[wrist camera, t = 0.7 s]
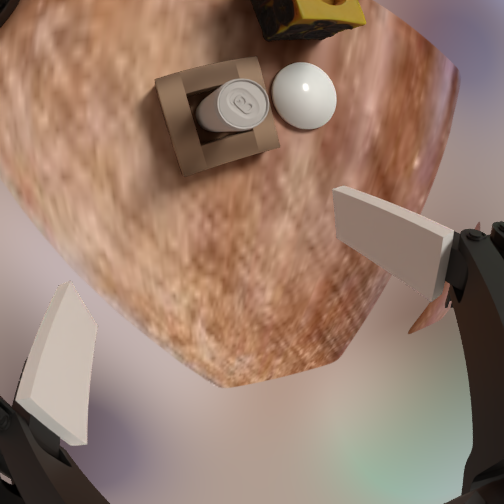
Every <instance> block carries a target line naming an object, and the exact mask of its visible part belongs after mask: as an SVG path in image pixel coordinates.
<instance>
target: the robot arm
mask: <svg viewBox="0 0 504 504" xmlns="http://www.w3.org/2000/svg"><path fill="white" fill-rule="evenodd" d="M19 1H20V0H0V27H1V26H2V25H3V24H4V22H5V21H6V20H7V19H8V17H9V16H10V15H11V13H12V12H13V10H14V9H15V7H16V6H17V4H18V3H19ZM332 192H333V202H334V212H335V224H336V238H337V239H339V240H340V241H342V242H343V243H345V244H347V245H348V246H350V247H351V248H353V249H354V250H356V251H357V252H359V253H360V254H362V255H364V256H365V257H367V258H368V259H370V260H371V261H373V262H374V263H376V264H377V265H379V266H380V267H382V268H383V269H385V270H386V271H387V272H389V273H390V274H392V275H393V276H395V277H396V278H398V279H399V280H401V281H402V282H403V283H405V284H406V285H408V286H409V287H411V288H412V289H413V290H415V291H416V292H418V293H419V294H420V295H422V296H423V297H425V298H426V299H427V300H429V301H430V302H432V301H433V300H435V299H436V298H437V297H438V296H440V295H441V294H442V291H443V287H444V283H445V281H447V282H448V283H450V287H449V291H448V295H447V299H446V302H445V308H447V307H448V304H449V301H452V304H451V308H452V307H453V308H454V311H455V315H456V319H457V323H458V327H459V331H460V335H461V340H462V345H463V349H464V355H465V360H466V366H467V372H468V379H469V387H470V396H471V406H472V422H473V448H472V451H471V454H470V456H469V458H468V459H467V462H466V465H465V469H464V477H463V486H462V495H461V496H459V497H457V498H455V499H453V500H451V501H449V502H447V503H444V504H504V222H502V221H501V222H495V223H493V225H492V230H491V234H490V235H486V234H485V233H483V232H481V231H478V230H475V229H465V230H463V231H461V233H460V234H459V233H457V232H455V231H453V230H452V229H450V228H448V227H445V226H443V225H441V224H439V223H437V222H434V221H432V220H430V219H428V218H426V217H424V216H421V215H419V214H417V213H414V212H412V211H410V210H407V209H405V208H402V207H400V206H397V205H395V204H392V203H390V202H387V201H385V200H382V199H380V198H377V197H374V196H372V195H369V194H366V193H364V192H361V191H358V190H355V189H352V188H350V187H347V186H341V187H338V188H334V189H332ZM97 329H98V325H97V323H96V322H95V320H94V319H93V317H92V315H91V314H90V313H89V311H88V309H87V307H86V306H85V304H84V303H83V301H82V299H81V298H80V296H79V294H78V292H77V291H76V289H75V287H74V285H73V284H72V282H71V281H68V282H66V283H63V284H61V285H59V286H58V288H57V290H56V292H55V294H54V296H53V298H52V300H51V302H50V304H49V307H48V309H47V311H46V314H45V316H44V318H43V320H42V322H41V325H40V327H39V330H38V332H37V335H36V338H35V340H34V343H33V345H32V348H31V351H30V354H29V356H28V358H27V359H26V361H25V364H24V367H23V370H22V372H23V373H21V376H20V381H19V383H18V386H17V390H16V393H15V397H14V401H13V405H12V407H11V406H10V405H9V404H8V403H7V402H6V401H5V400H4V399H3V398H2V397H1V396H0V473H2V474H3V475H5V476H7V477H8V478H10V479H11V481H12V485H11V484H9V483H7V482H5V481H4V480H2V479H1V477H0V504H110V503H109V502H108V501H107V500H106V499H105V498H104V497H103V496H102V495H101V493H100V492H99V491H98V490H97V489H96V488H95V487H94V486H93V484H92V483H91V482H90V481H89V480H88V478H87V477H86V476H85V475H84V474H83V472H82V471H81V470H80V469H79V467H78V466H77V465H76V463H75V462H74V461H73V459H72V458H71V457H70V455H69V454H68V453H67V451H66V450H65V449H64V448H62V447H61V446H60V438H61V439H62V440H64V441H65V442H67V443H68V444H69V445H71V446H75V445H85V444H87V419H88V402H89V401H88V400H89V389H90V379H91V370H92V362H93V354H94V348H95V342H96V335H97Z"/></svg>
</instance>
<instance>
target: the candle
mask: <svg viewBox="0 0 504 504" xmlns="http://www.w3.org/2000/svg"><path fill="white" fill-rule="evenodd" d="M251 2H252V4H253V7H254V11H255V13H256V14H257V18H258V21H259V23H260V26H261V28H262V31H263V37H264V38H265V40H266V41H271V40H296V39H307V40H309V39H319V40H323V39H325V38H327V37H331V36H334V34H336V33H338V32H341V31H344V30H345V29H353V28H356V27H359V26H363V25H365V24H366V20H365V17H364V14H363V12H362V9H361V7H360V4H359V2H358V0H251Z"/></svg>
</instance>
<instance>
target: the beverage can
mask: <svg viewBox="0 0 504 504" xmlns="http://www.w3.org/2000/svg"><path fill="white" fill-rule="evenodd" d="M268 111H269V99H268V95H267V93H266V91H265V90H264V89H263V88H262V86H261V85H259V84H258V83H256V82H255V81H252V80H250V79H234V80H231V81H228V82H226V83H225V84H223V85H222V86H221V87H219V88H218V89H217V90H215V91H214V92H213V93H211V94H210V95H209V96H207V97H206V98H205V99H204V100H202V101H201V102H200V104H199V105H198V107H197V110H196V119H197V122H198V124H199V125H200V126H201V127H202V128H203V129H205V130H207V131H210V132H228V131H245V130H250V129H252V128H254V127H256V126H257V125H259V124H260V123H261V122H262V121H263V120H264V119H265V117H266V116H267V114H268Z"/></svg>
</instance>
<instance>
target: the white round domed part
mask: <svg viewBox="0 0 504 504" xmlns="http://www.w3.org/2000/svg"><path fill="white" fill-rule="evenodd" d="M271 96H272V101H273V104H274V107H275V109H276V111H277V112H278V114H279V115H280V116H281V118H282V119H283V120H284V121H286V122H287V123H288V124H290V125H292V126H294V127H296V128H300V129H315V128H319V127H321V126H323V125H324V124H326V123H327V122H328V121H329V120H330V118H331V117H332V115H333V113H334V111H335V108H336V92H335V88H334V86H333V83H332V81H331V80H330V78H329V77H328V76H327V74H326V73H325V72H324V71H323V70H321V69H320V68H318V67H317V66H315V65H312V64H309V63H304V62H298V63H293V64H290V65H288V66H286V67H284V68H283V69H281V70H280V71H279V72H278V73H277V75H276V76H275V78H274V80H273V83H272V88H271Z"/></svg>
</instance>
